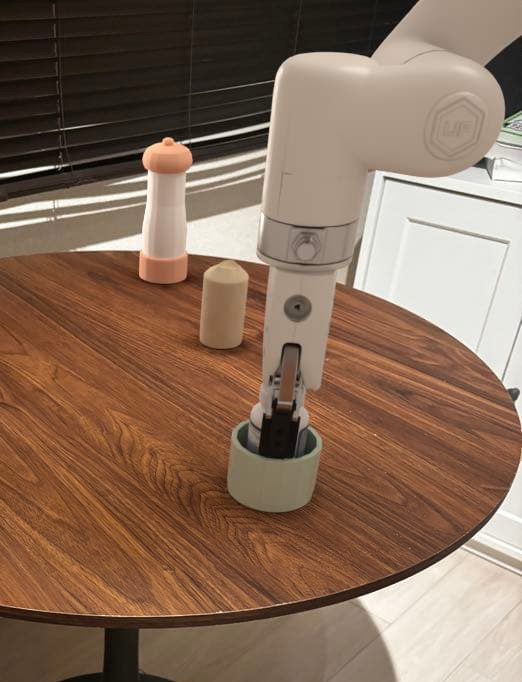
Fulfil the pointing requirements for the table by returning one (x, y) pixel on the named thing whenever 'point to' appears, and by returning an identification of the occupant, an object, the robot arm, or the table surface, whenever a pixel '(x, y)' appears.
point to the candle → (223, 305)
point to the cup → (272, 474)
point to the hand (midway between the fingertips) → (277, 436)
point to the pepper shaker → (165, 214)
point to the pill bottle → (257, 423)
